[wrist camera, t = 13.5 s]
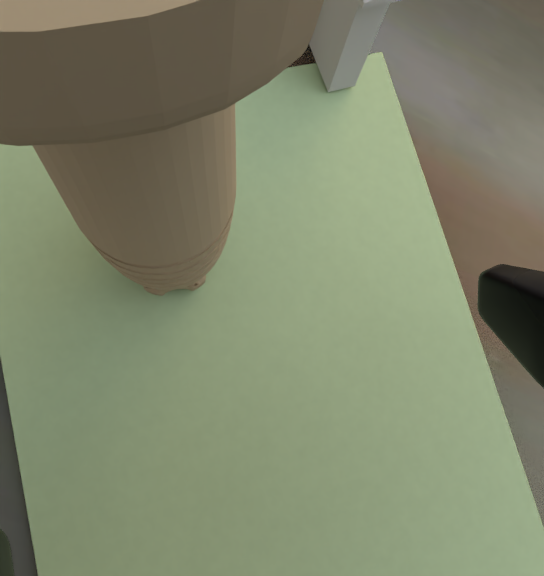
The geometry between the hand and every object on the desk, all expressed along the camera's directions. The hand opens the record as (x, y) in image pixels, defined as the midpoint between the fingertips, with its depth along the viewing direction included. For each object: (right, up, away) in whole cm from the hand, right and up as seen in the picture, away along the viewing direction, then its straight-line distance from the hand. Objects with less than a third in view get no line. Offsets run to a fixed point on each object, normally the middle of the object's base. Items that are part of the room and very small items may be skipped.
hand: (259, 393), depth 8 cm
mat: (0, 0, +9) cm, 9 cm away
